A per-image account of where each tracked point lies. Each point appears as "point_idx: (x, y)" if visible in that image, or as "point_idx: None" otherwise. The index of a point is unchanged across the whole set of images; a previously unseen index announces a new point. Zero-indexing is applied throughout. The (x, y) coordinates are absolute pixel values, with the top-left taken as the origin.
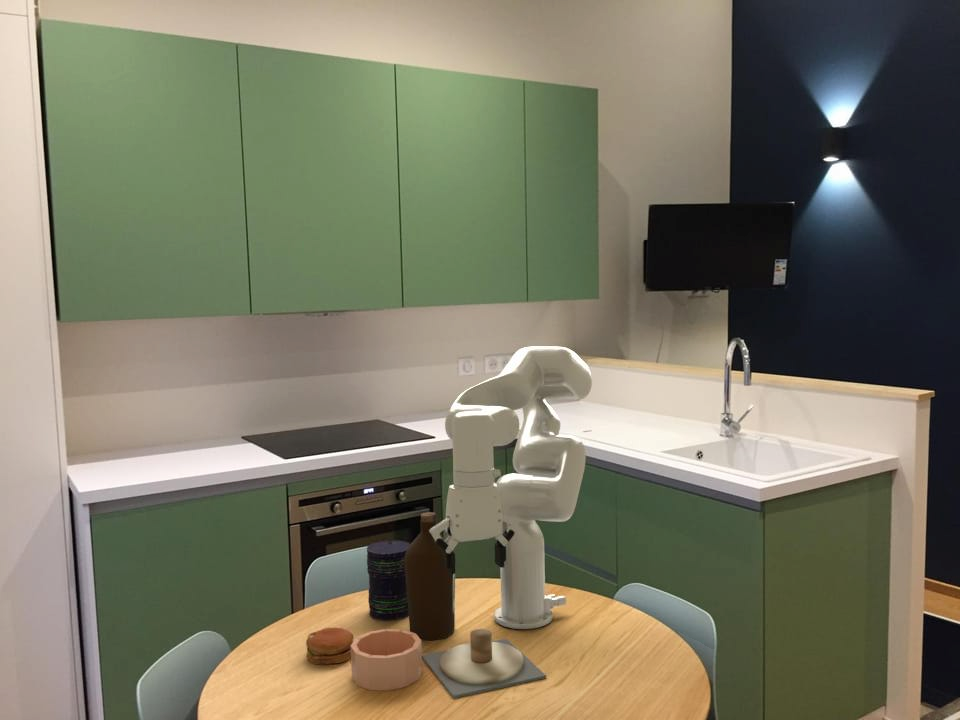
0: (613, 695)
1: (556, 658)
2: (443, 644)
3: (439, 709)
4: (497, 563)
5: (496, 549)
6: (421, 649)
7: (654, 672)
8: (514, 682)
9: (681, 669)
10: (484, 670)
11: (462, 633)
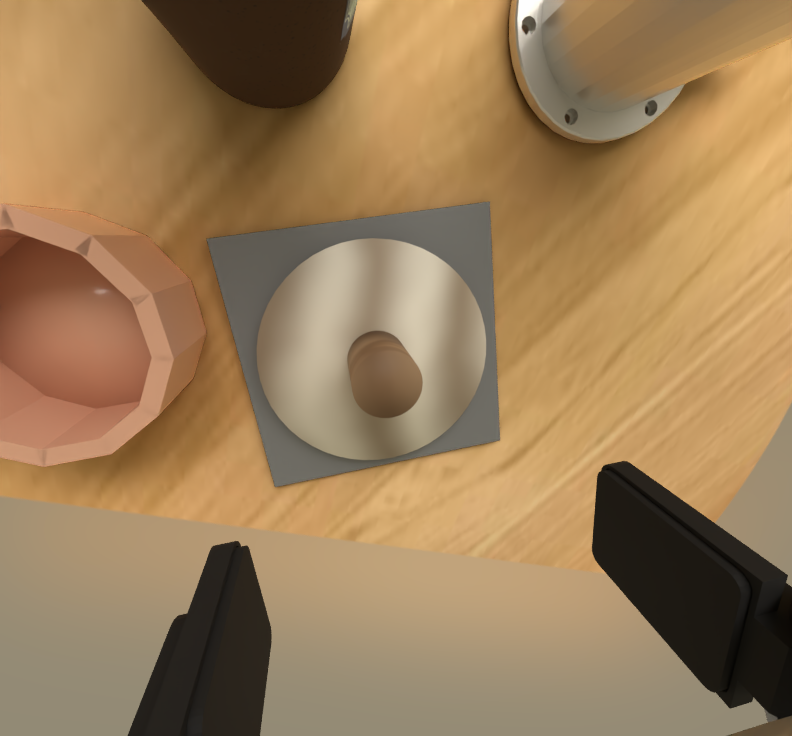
0: (579, 520)
1: (559, 350)
2: (291, 156)
3: (238, 519)
4: (602, 516)
5: (691, 584)
6: (185, 349)
7: (691, 456)
8: (424, 455)
9: (737, 455)
10: (368, 423)
11: (371, 81)
